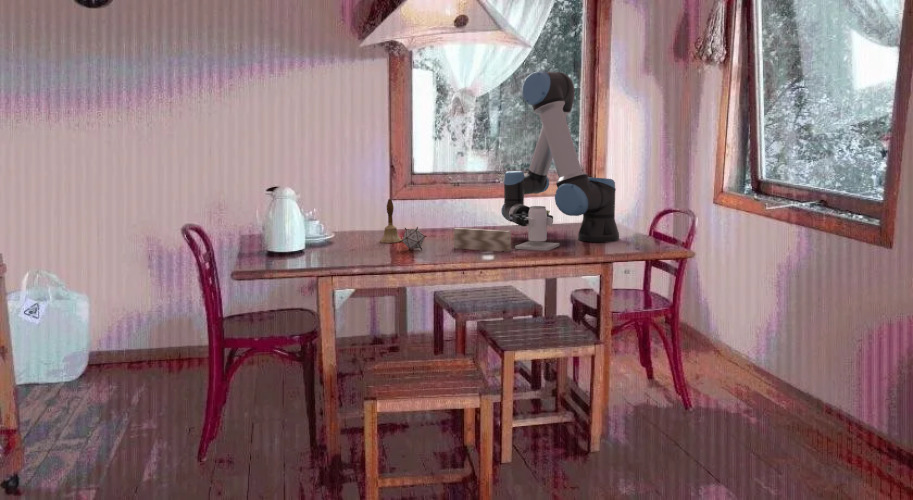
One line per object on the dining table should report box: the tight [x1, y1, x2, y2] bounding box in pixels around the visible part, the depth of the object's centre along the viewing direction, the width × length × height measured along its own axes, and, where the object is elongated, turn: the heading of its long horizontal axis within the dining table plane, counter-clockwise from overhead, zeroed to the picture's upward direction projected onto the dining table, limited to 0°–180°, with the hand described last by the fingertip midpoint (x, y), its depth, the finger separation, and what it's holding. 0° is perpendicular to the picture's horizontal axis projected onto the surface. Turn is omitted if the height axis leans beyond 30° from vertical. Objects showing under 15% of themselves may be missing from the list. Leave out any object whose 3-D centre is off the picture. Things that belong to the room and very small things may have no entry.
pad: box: [514, 240, 560, 252], centre depth 303 cm, size 12×12×1 cm
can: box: [527, 205, 548, 242], centre depth 302 cm, size 6×6×12 cm
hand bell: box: [379, 198, 403, 244], centre depth 320 cm, size 8×8×16 cm
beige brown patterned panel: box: [453, 227, 512, 253], centre depth 299 cm, size 21×2×7 cm, turn 63°
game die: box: [398, 226, 428, 252], centre depth 300 cm, size 9×8×10 cm
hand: (542, 222), depth 296 cm, fingers open, 6 cm apart
